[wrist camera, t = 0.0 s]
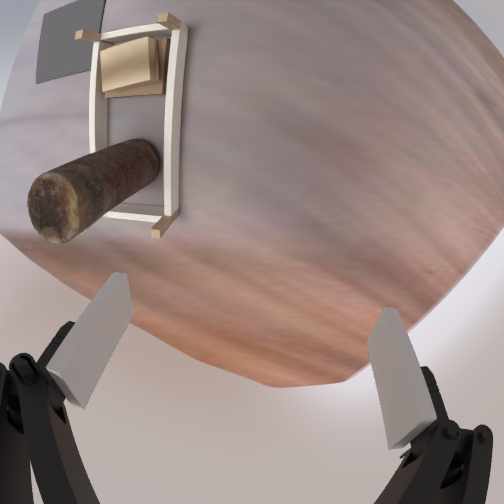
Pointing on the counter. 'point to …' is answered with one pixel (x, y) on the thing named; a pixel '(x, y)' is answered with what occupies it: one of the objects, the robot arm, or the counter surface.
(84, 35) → the rack
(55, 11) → the mat
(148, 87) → the offcut lower
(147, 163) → the rusty brown cylinder
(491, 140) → the counter surface
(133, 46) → the offcut upper
